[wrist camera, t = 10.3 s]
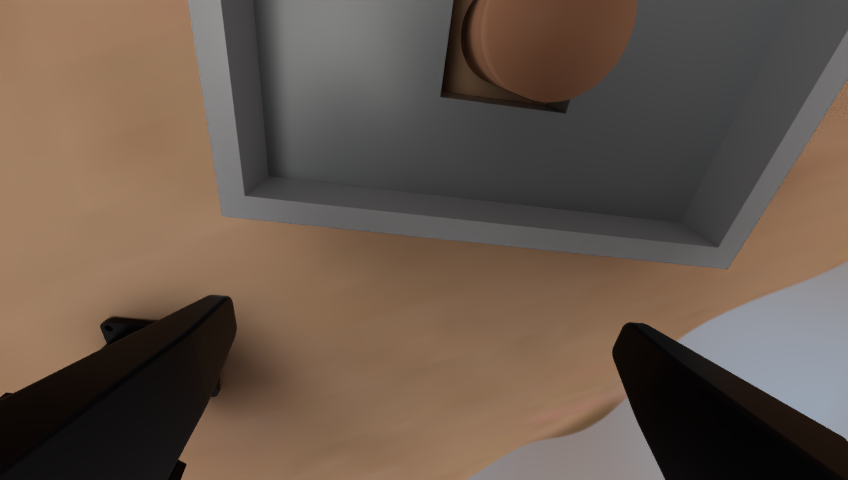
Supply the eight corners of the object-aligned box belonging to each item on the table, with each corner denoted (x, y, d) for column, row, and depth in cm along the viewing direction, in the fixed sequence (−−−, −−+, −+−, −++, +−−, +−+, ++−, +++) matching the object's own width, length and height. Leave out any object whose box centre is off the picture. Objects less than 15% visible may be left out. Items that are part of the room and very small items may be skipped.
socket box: (268, 177, 19) (222, 216, 14) (226, -305, 11) (102, -536, 7) (660, 221, 20) (727, 269, 16) (853, -176, 13) (1084, -297, 8)
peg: (454, 78, 17) (475, 93, 10) (469, -27, 15) (506, -85, 8) (536, 88, 17) (604, 110, 11) (562, -13, 15) (663, -58, 9)
